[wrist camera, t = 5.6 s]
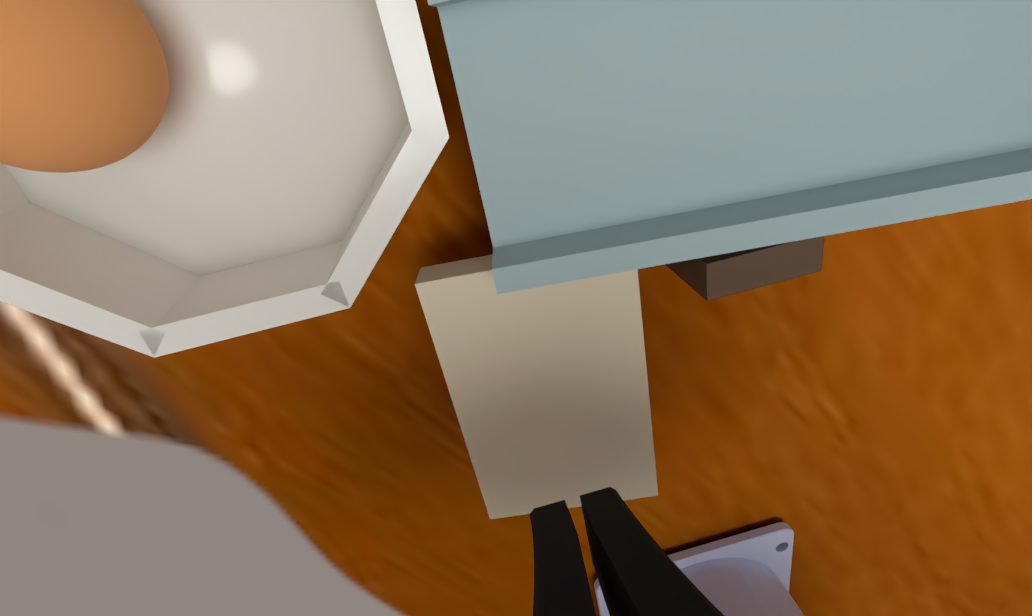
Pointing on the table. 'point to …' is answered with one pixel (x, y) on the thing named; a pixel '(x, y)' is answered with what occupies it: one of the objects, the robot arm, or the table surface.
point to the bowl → (236, 178)
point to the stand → (750, 267)
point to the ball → (77, 83)
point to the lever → (685, 187)
